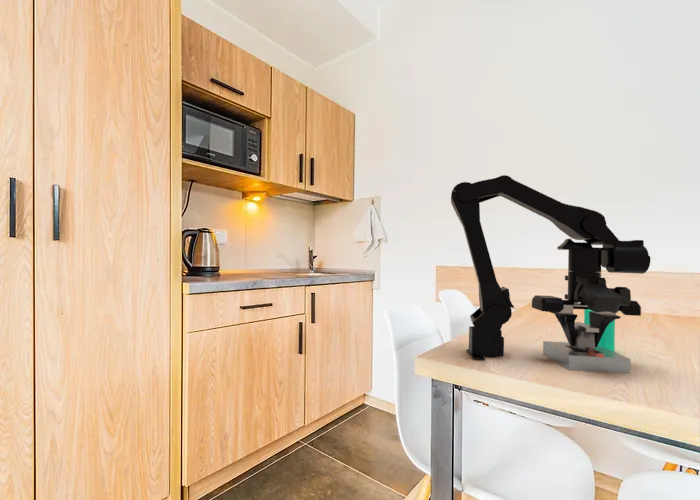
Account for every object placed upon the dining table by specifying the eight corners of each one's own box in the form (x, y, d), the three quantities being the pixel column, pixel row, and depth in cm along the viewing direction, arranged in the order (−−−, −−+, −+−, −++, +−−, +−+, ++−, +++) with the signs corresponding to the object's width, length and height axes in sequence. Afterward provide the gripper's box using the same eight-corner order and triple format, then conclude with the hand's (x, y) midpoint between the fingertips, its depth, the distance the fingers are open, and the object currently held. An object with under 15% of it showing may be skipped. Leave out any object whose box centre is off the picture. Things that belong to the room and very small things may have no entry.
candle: (620, 357, 78) (620, 305, 78) (590, 355, 79) (591, 303, 79) (606, 350, 84) (606, 301, 84) (579, 348, 85) (579, 300, 85)
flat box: (561, 377, 64) (562, 354, 64) (526, 352, 80) (527, 335, 80) (654, 382, 62) (654, 359, 62) (600, 357, 78) (600, 338, 78)
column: (580, 366, 68) (581, 327, 68) (564, 357, 74) (564, 321, 74) (603, 367, 67) (604, 328, 67) (584, 358, 74) (585, 322, 74)
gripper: (556, 272, 64) (554, 354, 64) (664, 275, 62) (663, 361, 62) (531, 269, 75) (530, 340, 75) (622, 272, 73) (621, 345, 73)
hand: (583, 346), depth 71 cm, fingers closed on column, 4 cm apart
